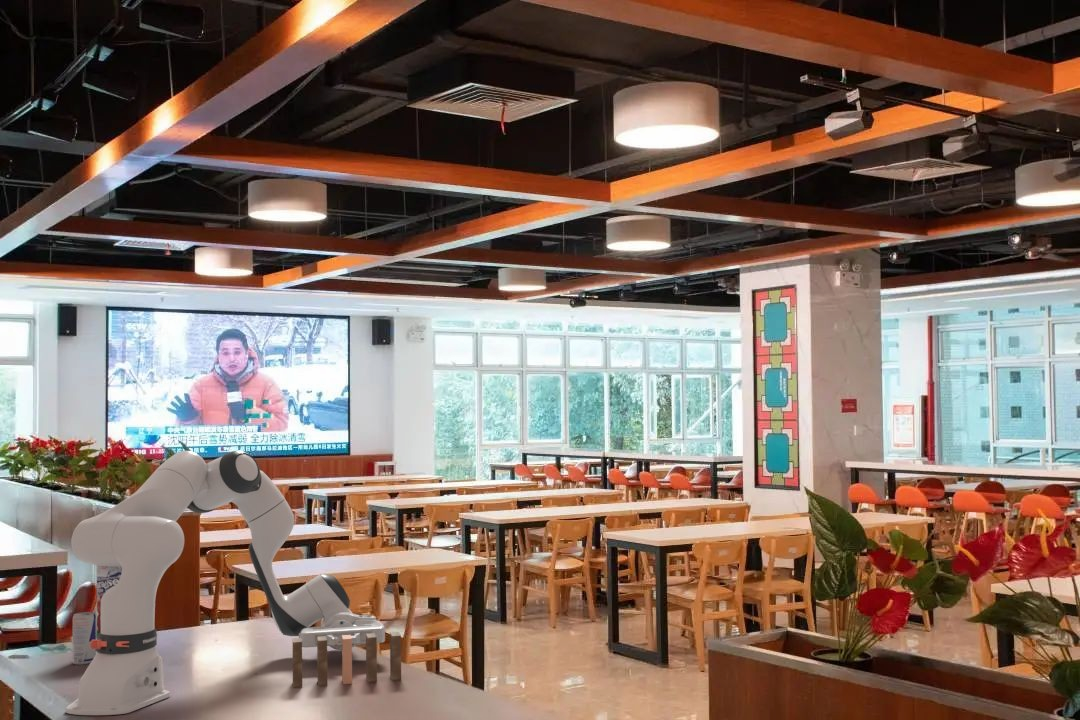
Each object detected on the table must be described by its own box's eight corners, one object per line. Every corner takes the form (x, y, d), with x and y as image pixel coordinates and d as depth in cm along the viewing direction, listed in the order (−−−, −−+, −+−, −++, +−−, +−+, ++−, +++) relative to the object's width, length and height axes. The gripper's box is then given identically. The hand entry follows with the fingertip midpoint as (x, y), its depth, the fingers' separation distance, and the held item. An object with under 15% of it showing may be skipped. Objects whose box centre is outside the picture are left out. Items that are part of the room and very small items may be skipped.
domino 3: (343, 684, 252) (342, 639, 252) (342, 679, 256) (341, 635, 257) (352, 683, 252) (351, 638, 252) (351, 678, 257) (350, 634, 257)
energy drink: (99, 660, 281) (99, 611, 282) (88, 664, 276) (89, 615, 277) (79, 660, 282) (79, 611, 283) (68, 664, 277) (68, 615, 277)
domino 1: (293, 687, 249) (292, 642, 249) (292, 682, 254) (292, 638, 254) (302, 687, 249) (302, 641, 250) (301, 682, 254) (301, 637, 255)
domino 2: (318, 686, 250) (318, 640, 251) (317, 681, 255) (317, 636, 255) (327, 685, 251) (327, 640, 251) (326, 680, 255) (326, 636, 256)
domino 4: (368, 682, 253) (367, 637, 253) (366, 677, 257) (365, 633, 258) (377, 681, 253) (376, 637, 254) (375, 677, 258) (374, 633, 258)
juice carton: (123, 647, 297) (124, 544, 299) (145, 651, 291) (145, 546, 292) (92, 652, 290) (92, 547, 292) (113, 657, 284) (114, 550, 285)
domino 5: (392, 680, 254) (392, 636, 255) (390, 676, 259) (389, 632, 259) (401, 680, 255) (400, 635, 255) (399, 675, 259) (398, 631, 260)
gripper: (298, 620, 276) (299, 631, 262) (381, 615, 280) (387, 625, 267) (298, 646, 275) (299, 658, 262) (381, 641, 280) (387, 652, 267)
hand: (344, 641), depth 264 cm, fingers open, 3 cm apart
